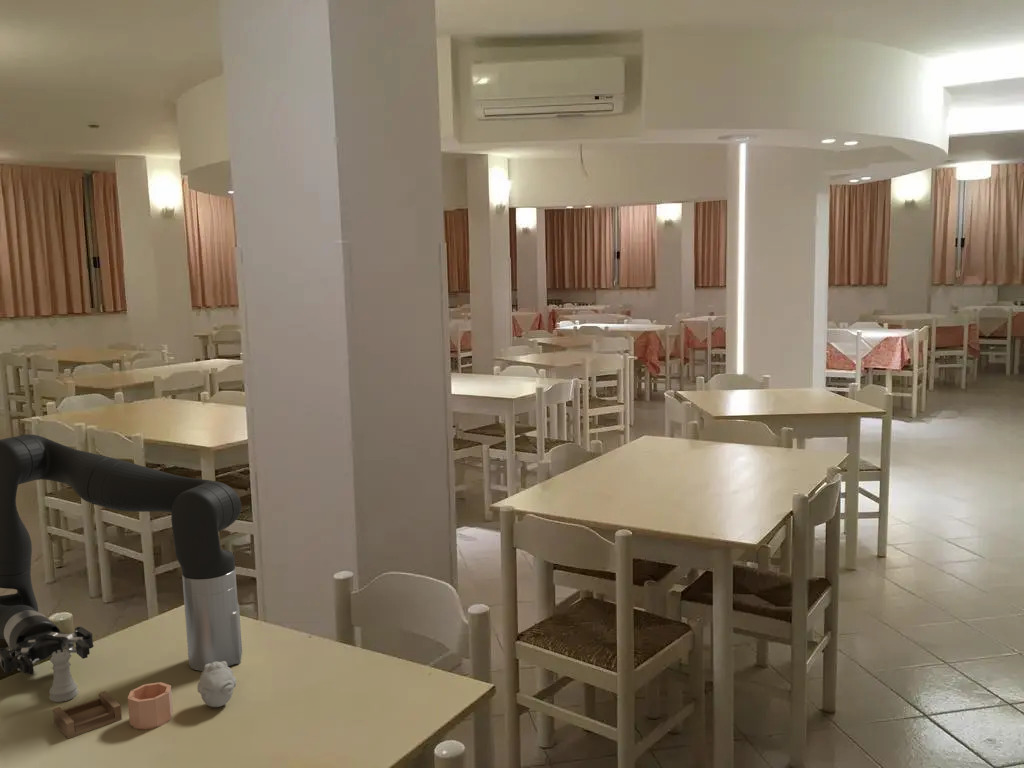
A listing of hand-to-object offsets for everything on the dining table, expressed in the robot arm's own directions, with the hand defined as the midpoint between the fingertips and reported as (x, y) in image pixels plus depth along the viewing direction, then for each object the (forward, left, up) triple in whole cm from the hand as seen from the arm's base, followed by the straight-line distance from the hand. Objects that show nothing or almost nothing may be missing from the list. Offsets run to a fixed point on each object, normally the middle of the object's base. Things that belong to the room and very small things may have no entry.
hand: (58, 660), depth 145 cm
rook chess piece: (-1, +1, -6) cm, 6 cm away
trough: (-7, +12, -6) cm, 15 cm away
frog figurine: (-27, +12, -6) cm, 30 cm away
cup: (-17, +14, -6) cm, 23 cm away
